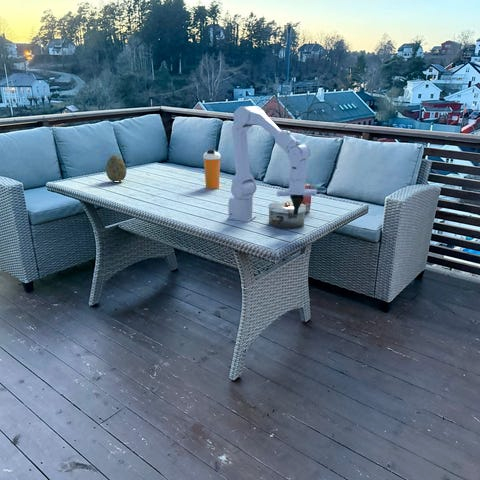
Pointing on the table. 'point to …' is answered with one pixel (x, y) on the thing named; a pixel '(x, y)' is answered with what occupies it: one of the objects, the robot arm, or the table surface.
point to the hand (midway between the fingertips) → (295, 214)
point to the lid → (286, 208)
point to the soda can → (307, 198)
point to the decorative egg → (115, 168)
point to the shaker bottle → (212, 168)
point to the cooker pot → (286, 220)
